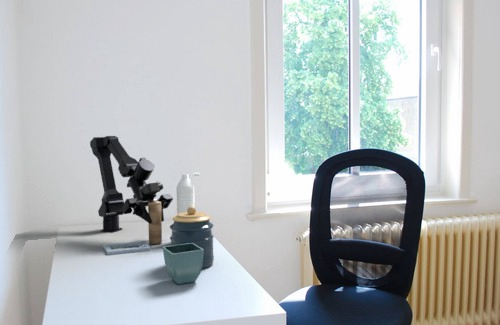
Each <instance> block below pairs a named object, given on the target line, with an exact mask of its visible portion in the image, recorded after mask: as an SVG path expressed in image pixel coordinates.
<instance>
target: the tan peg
mask: <svg viewBox="0 0 500 325" xmlns="http://www.w3.org/2000/svg"><path fill="white" fill-rule="evenodd" d="M147 212H148V214H149V216H150V218H151V220H152V223H151V224H150V223H148V244H150V245H157V244H161V243H163V234H162V233H163V232H162V231H163V230H162V229H163V228H162V223H163V222H162V219H161V202H148V206H147Z"/></svg>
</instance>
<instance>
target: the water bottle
mask: <svg viewBox="0 0 500 325" xmlns="http://www.w3.org/2000/svg"><path fill="white" fill-rule="evenodd" d="M199 176H201V172H193V176H192V177H199ZM195 191H196V190H195V185H194V183H193V182H192V180H191V179H190V177H189V173H181V178H180V180H179V182H178V183H177V185H176V215H177V214H179V213H184V212H187V209H188V207H190V206H193V207H195V206H196V203H195V200H196V199H195V196H196V195H195Z"/></svg>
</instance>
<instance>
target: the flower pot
mask: <svg viewBox="0 0 500 325" xmlns="http://www.w3.org/2000/svg"><path fill="white" fill-rule="evenodd" d="M162 252H163V260H164V265H165V268H166V271H167V272H168V273H167V274H168V275H169V276H170V279H172V281H173V282H174V283H176V284H177V285H182V284H187V283H193V282H196V281H197V279H198V278H199V276H200V274H201V272H202V263H203V253H204V249H202V248H200V247H199V246H197V245H195V244H194V243H187V244H180V245H173V246H171V245H167V246H162Z"/></svg>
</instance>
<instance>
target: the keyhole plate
mask: <svg viewBox="0 0 500 325" xmlns="http://www.w3.org/2000/svg"><path fill="white" fill-rule="evenodd" d="M103 249H104V251H105V253H106V254H107V255H108V256H110V255H120V254H130V253H140V252H148V251H151V250H152V249H151V246H150V245H149V243H147V242H146V241H145V240H139V241H131V242H120V243H119V242H118V243H109V244H108V243H107V244H103Z"/></svg>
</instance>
